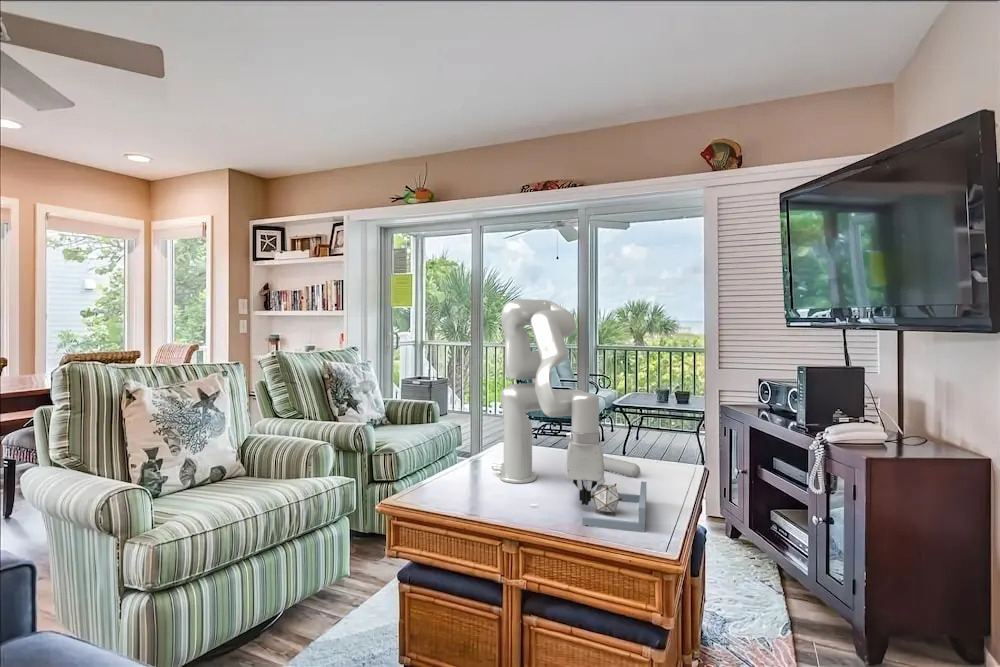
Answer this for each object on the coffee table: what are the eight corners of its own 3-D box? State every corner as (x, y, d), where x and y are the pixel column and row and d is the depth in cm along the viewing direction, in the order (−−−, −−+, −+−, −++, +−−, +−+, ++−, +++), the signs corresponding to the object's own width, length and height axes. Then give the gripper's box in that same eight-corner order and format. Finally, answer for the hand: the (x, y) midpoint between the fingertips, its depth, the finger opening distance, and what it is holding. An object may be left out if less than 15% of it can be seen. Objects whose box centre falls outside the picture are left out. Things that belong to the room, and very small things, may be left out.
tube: (644, 465, 181) (586, 451, 199) (636, 462, 177) (577, 449, 196) (641, 481, 180) (583, 465, 198) (633, 478, 176) (574, 463, 195)
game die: (608, 524, 147) (629, 494, 149) (610, 523, 139) (631, 492, 141) (582, 503, 150) (602, 474, 152) (582, 501, 142) (603, 471, 144)
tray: (582, 525, 137) (582, 502, 136) (592, 497, 159) (592, 477, 158) (644, 532, 132) (644, 508, 132) (646, 502, 154) (646, 481, 154)
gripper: (556, 438, 146) (556, 505, 146) (611, 442, 141) (611, 510, 142) (561, 433, 153) (561, 496, 153) (613, 436, 148) (613, 501, 149)
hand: (585, 503), depth 147 cm, fingers closed
